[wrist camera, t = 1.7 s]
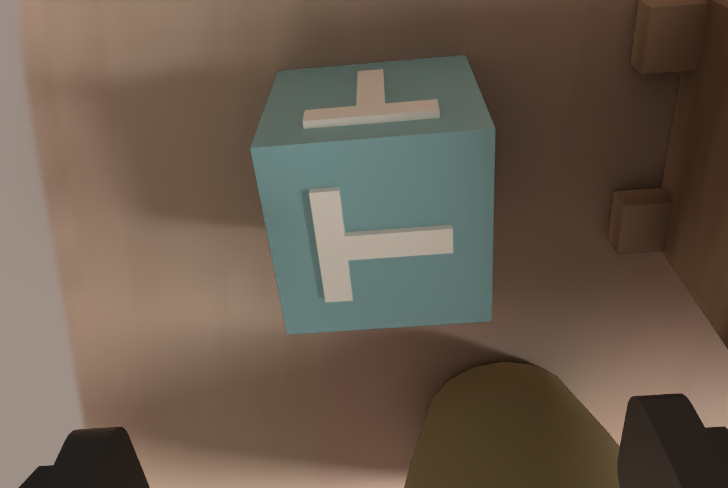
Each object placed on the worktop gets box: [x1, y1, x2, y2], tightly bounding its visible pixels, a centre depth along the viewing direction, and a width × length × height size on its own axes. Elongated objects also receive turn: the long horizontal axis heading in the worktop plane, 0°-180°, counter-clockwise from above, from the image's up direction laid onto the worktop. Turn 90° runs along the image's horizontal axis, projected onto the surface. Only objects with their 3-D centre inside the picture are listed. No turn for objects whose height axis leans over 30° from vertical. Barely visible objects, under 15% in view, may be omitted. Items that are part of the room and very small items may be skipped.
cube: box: [250, 55, 495, 335], centre depth 19 cm, size 6×6×6 cm
